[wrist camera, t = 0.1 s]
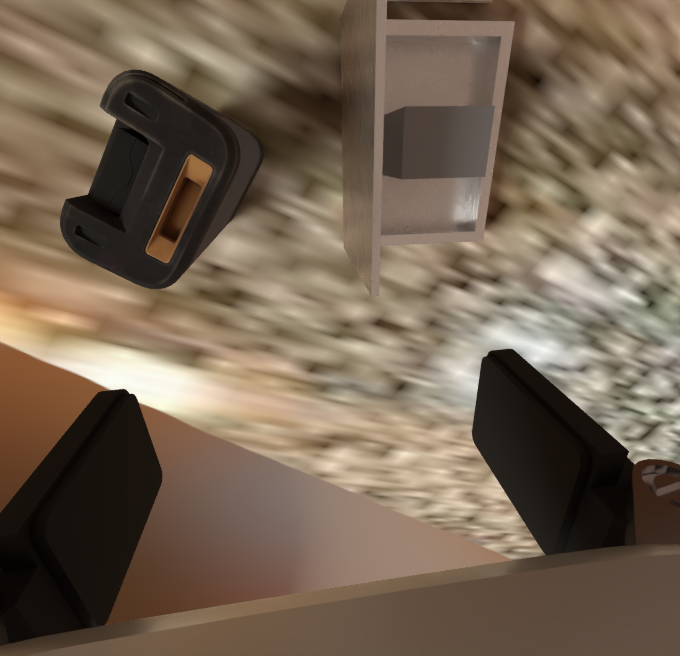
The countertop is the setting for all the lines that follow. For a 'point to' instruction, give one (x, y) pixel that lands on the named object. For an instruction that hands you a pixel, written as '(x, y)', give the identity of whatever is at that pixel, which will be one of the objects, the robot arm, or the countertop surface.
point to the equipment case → (412, 90)
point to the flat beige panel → (450, 0)
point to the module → (437, 141)
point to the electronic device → (160, 182)
